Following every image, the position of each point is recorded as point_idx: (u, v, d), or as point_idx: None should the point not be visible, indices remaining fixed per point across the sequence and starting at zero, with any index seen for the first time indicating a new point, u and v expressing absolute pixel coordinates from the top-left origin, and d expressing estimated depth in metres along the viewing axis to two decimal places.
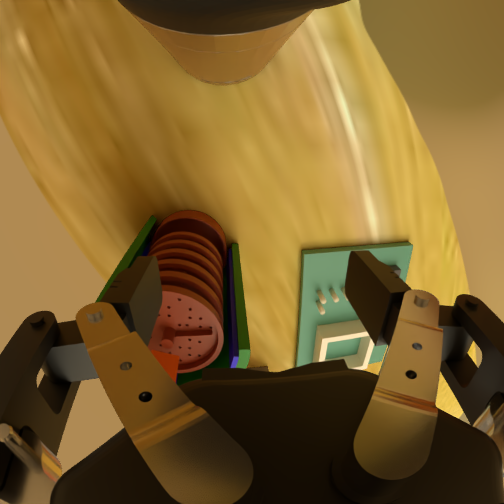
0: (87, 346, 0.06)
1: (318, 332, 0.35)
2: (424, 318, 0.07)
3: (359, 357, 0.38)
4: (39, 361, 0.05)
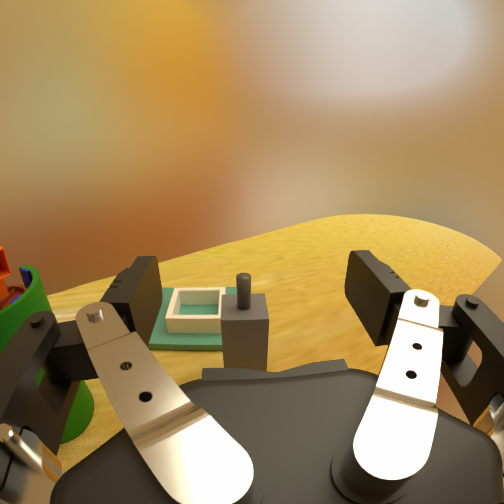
0: (87, 346, 0.06)
1: (170, 328, 0.36)
2: (424, 318, 0.07)
3: (217, 298, 0.43)
4: (39, 361, 0.05)
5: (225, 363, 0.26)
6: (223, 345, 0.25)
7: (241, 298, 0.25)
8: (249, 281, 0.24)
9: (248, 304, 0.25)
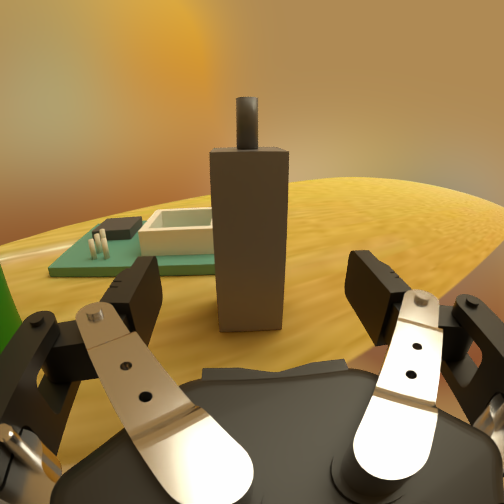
0: (87, 346, 0.06)
1: (144, 247, 0.27)
2: (424, 318, 0.07)
3: (211, 221, 0.33)
4: (39, 361, 0.05)
5: (216, 247, 0.16)
6: (213, 206, 0.15)
7: (243, 129, 0.15)
8: (255, 102, 0.15)
9: (254, 141, 0.15)
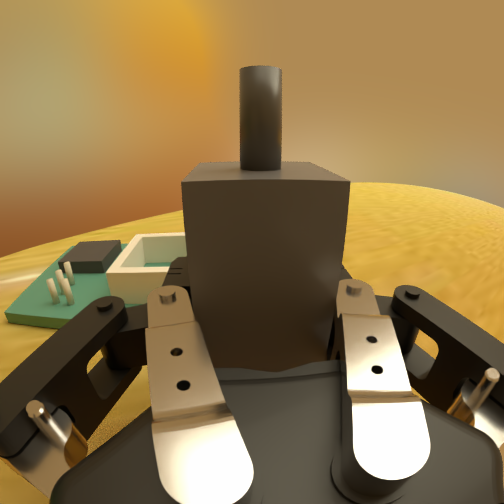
0: (149, 325, 0.07)
1: (115, 293, 0.19)
2: (363, 307, 0.07)
3: None
4: (95, 347, 0.06)
5: None
6: (194, 289, 0.08)
7: (253, 129, 0.07)
8: (278, 77, 0.07)
9: (275, 153, 0.08)
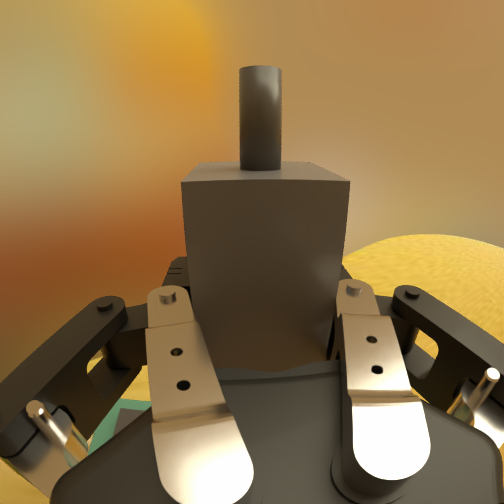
0: (150, 325, 0.07)
1: None
2: (363, 308, 0.07)
3: None
4: (95, 347, 0.06)
5: None
6: (194, 289, 0.08)
7: (253, 129, 0.07)
8: (278, 77, 0.07)
9: (275, 153, 0.08)
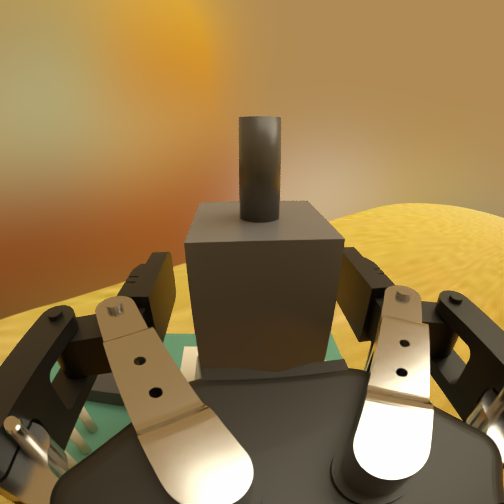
0: (104, 339, 0.06)
1: None
2: (407, 314, 0.07)
3: None
4: (54, 356, 0.06)
5: None
6: (198, 334, 0.08)
7: (252, 182, 0.08)
8: (278, 127, 0.08)
9: (274, 205, 0.08)
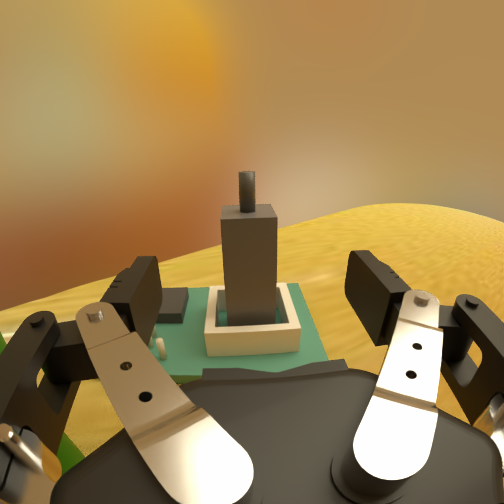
0: (87, 346, 0.06)
1: (211, 348, 0.23)
2: (424, 318, 0.07)
3: None
4: (39, 361, 0.05)
5: (226, 284, 0.23)
6: (224, 256, 0.22)
7: (244, 197, 0.21)
8: (253, 176, 0.21)
9: (252, 206, 0.22)
